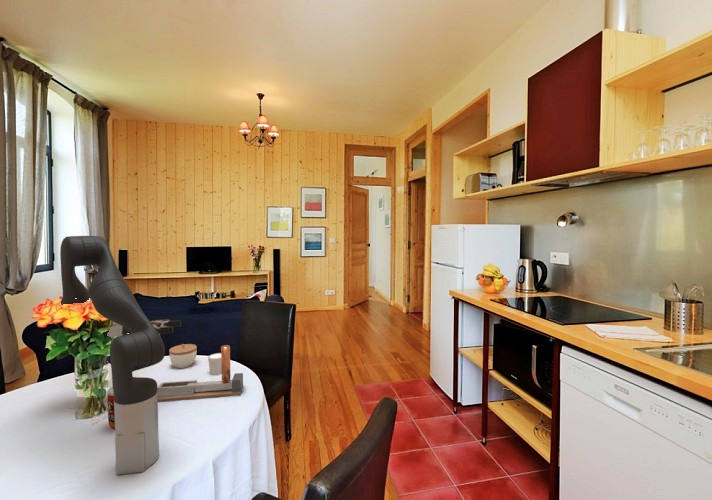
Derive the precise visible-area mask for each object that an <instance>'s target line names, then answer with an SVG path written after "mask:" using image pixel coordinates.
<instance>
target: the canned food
mask: <svg viewBox="0 0 712 500" xmlns="http://www.w3.org/2000/svg"><path fill="white" fill-rule="evenodd" d="M106 397H107V415H108V416H107V420H108V421H107V422H108V426H109V428H110V429H113V430H115V414H114V413H115V412H114V392H113V386H111V387H110V388H108V389H107V396H106Z"/></svg>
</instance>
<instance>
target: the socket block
mask: <svg viewBox="0 0 712 500" xmlns="http://www.w3.org/2000/svg"><path fill="white" fill-rule="evenodd" d="M231 380H232V393H236V392H241V390H242V391H243V389H242V387H243V388H244V372H239V373H234V374H233V377H232V379H231ZM241 393H242V392H241Z"/></svg>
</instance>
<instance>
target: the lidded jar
mask: <svg viewBox="0 0 712 500" xmlns="http://www.w3.org/2000/svg"><path fill="white" fill-rule="evenodd" d="M168 352H169V358H170V362H171V364H172V365H173V366H175V368H176V369H185V368H189V367H191V366H192V364H193V363H194V362H195V360H196V358H197V345H196V344H192V343H187V344H186V343H185V344H184V343H181V344H178V345H175V346H173V347H171V348H170V349H169V350H168Z"/></svg>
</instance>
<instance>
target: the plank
mask: <svg viewBox="0 0 712 500" xmlns="http://www.w3.org/2000/svg"><path fill="white" fill-rule="evenodd" d="M243 389H244V386H243V387H242V390H241V392H236V393H232V389H228V390H215V391H202V392H194V395H186V396H174V397H161V398H160V397H158V403H164V402H175V401H176V402H178V401H189V400H200V399H203V400H204V399H212V398H215V399H216V398H225V397H228V398H229V397H237V396H241V394H242V393H243Z"/></svg>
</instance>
